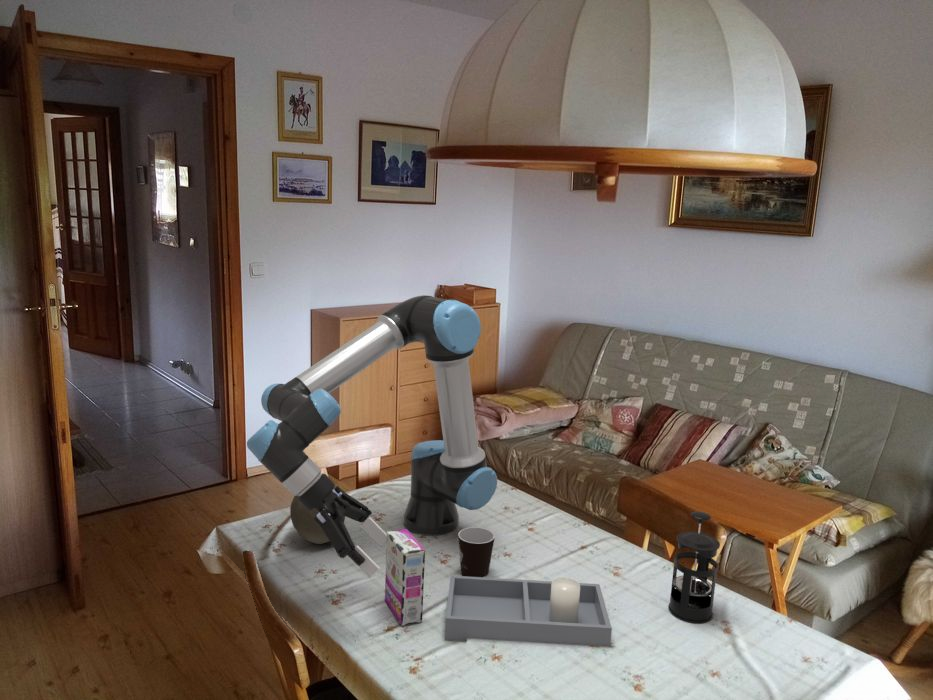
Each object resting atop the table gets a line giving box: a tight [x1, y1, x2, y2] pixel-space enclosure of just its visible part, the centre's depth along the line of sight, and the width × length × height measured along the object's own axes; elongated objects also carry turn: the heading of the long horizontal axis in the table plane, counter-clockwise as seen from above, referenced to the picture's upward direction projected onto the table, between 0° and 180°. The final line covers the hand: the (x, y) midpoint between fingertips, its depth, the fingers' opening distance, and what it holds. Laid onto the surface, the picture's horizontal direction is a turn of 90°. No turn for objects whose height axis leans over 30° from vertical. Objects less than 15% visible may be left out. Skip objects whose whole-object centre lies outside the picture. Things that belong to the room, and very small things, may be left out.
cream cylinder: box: [549, 577, 580, 623], centre depth 149 cm, size 6×6×8 cm
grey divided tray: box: [444, 575, 613, 648], centre depth 150 cm, size 17×33×5 cm, turn 88°
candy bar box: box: [384, 528, 426, 627], centre depth 150 cm, size 11×5×16 cm, turn 25°
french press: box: [667, 511, 721, 625], centre depth 155 cm, size 12×9×23 cm
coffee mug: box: [457, 526, 496, 578], centre depth 169 cm, size 12×9×10 cm
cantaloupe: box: [289, 495, 346, 545], centre depth 181 cm, size 14×14×15 cm
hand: (380, 556), depth 149 cm, fingers open, 13 cm apart
